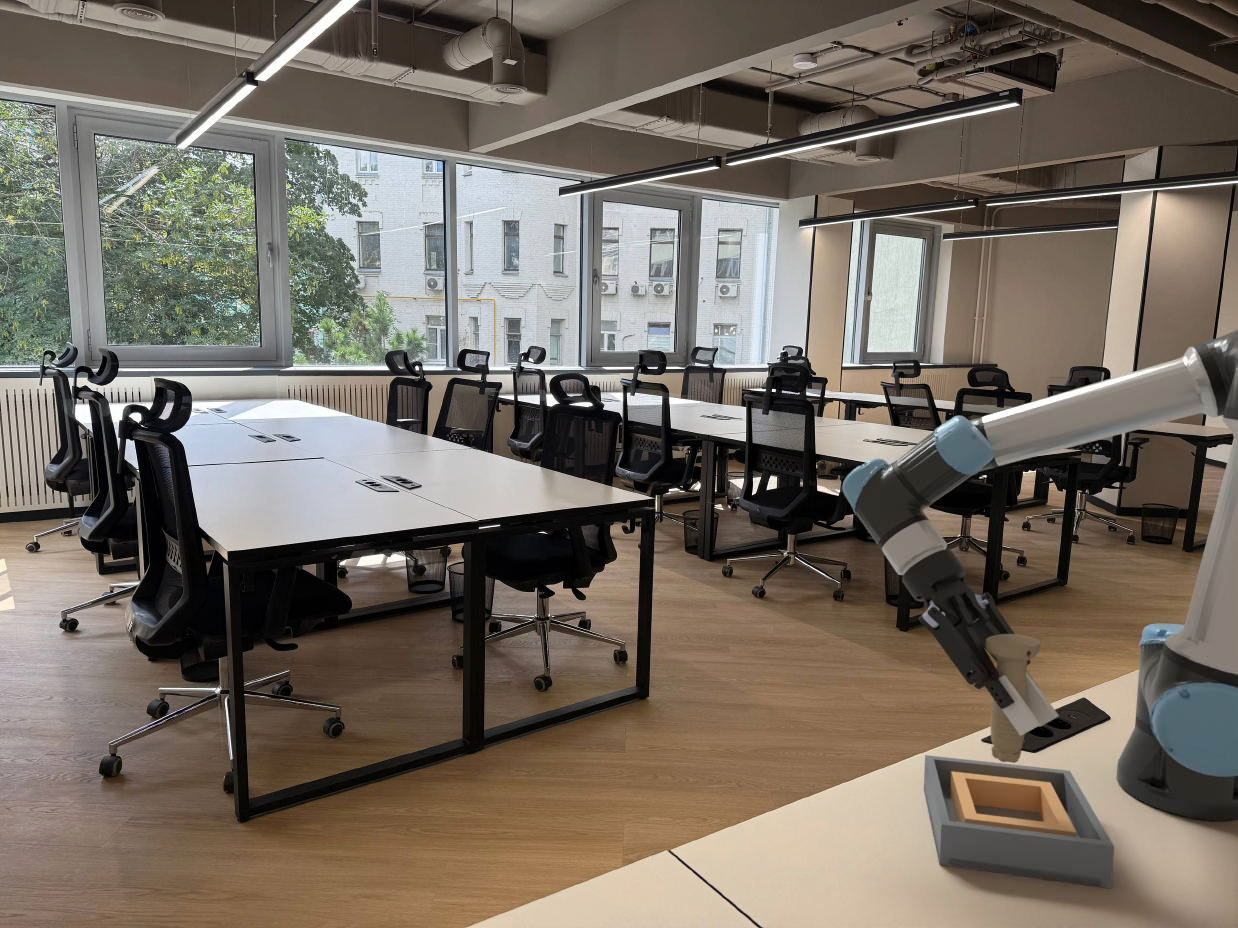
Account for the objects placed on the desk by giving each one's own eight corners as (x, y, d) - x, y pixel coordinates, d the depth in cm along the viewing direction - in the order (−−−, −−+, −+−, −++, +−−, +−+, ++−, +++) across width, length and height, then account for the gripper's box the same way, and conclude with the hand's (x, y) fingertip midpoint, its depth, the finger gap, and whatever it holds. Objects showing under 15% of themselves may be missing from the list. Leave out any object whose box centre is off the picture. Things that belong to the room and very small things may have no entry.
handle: (1041, 761, 102) (1049, 643, 100) (1001, 771, 100) (1009, 650, 98) (1009, 745, 107) (1016, 631, 105) (971, 753, 104) (977, 637, 102)
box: (1067, 806, 110) (1069, 770, 110) (1110, 888, 93) (1114, 845, 92) (923, 789, 115) (925, 754, 114) (939, 864, 97) (941, 824, 97)
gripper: (942, 569, 118) (1051, 722, 107) (867, 587, 108) (978, 757, 97) (979, 539, 113) (1098, 695, 102) (904, 555, 103) (1026, 729, 92)
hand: (1039, 725), depth 99 cm, fingers closed on handle, 3 cm apart
